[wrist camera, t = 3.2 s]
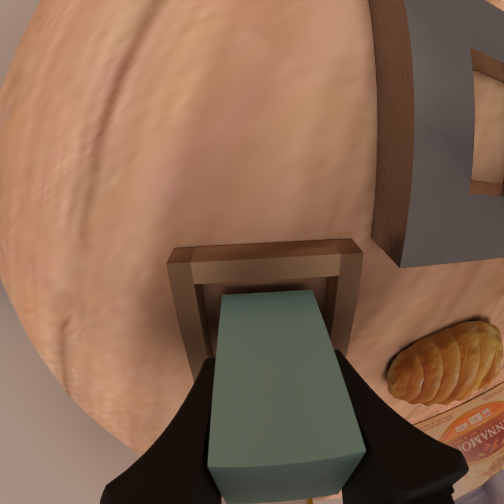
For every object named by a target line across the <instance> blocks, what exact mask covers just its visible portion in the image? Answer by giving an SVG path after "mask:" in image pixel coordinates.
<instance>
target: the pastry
mask: <svg viewBox="0 0 504 504" xmlns="http://www.w3.org/2000/svg"><path fill="white" fill-rule="evenodd" d="M502 357H503V344H502V338H501V333H500V331H499V329H498V328H497V327H496V326H494V325H492V324H489V323H486V322H483V321H480V320H478V321H472V322H471V321H465V322H463V323H460V324H456V325H454V326H453V327H450V328H446V329H444V330H442V331H440V332H437V333H435V334H432V335H430V336H427V337H425V338H423V339H420V340H418V341H416V342H415V343H414V344H413V345H412V346H410V347H409V348H407V349H405V350H403V351H401V352H400V353H399V354H398V355H397V357H396V358H395V359H394V360H393V362H392V365H391V367H390V369H389V371H388V374H387V379H388V391H389V393H390V394H391V395H393V397H394V398H397V399H401V400H404V401H407V402H408V403H410V404H417V403H422V404H424V405H426V406H430V405H432V404H434V403H436V404H443V405H449V404H450V403H451V402H452V401H455V400H458V401H461V400H464V399H465V398H467V397H468V396H469V395H470V394H471V393H472V392H473V391H474V390H481V389H483V388H485V387H486V386H487V385H489V384H490V383H491V382H492V381H493V380H494V378H495V377H496V376H497V374H498V372H499V369H500V362H501V359H502Z"/></svg>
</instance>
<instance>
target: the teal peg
mask: <svg viewBox="0 0 504 504" xmlns="http://www.w3.org/2000/svg"><path fill="white" fill-rule="evenodd" d="M365 452H366V449H365V446H364V442H363V439H362V436H361V432H360V429H359V426H358V423H357V419H356V416H355V413H354V410H353V407H352V403H351V400H350V397H349V394H348V391H347V388H346V385H345V382H344V379H343V376H342V373H341V370H340V367H339V364H338V361H337V358H336V355H335V352H334V349H333V346H332V343H331V340H330V338H329V335H328V332H327V329H326V326H325V323H324V321H323V318H322V315H321V312H320V310H319V307H318V304H317V301H316V299H315V296H314V293H313V291H312V289H310V290H296V291H281V292H265V293H247V294H226V295H222V300H221V310H220V320H219V330H218V341H217V351H216V362H215V374H214V385H213V397H212V410H211V423H210V437H209V451H208V469H209V471H210V473H211V475H212V477H213V479H214V481H215V483H216V485H217V487H218V489H219V491H220V493H221V495H222V497H223V498H224V500H225V502H226V504H252V503H272V502H284V501H294V500H302V499H310V498H317V497H323V496H329V495H334V494H338V493H339V492H340V490H341V489H342V487H343V486H344V485H345V483H346V482H347V480H348V479H349V477H350V476H351V474H352V473H353V471H354V470H355V468H356V467H357V465H358V464H359V462H360V460H361V459H362V457H363V455H364V454H365Z"/></svg>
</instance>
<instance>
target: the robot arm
mask: <svg viewBox="0 0 504 504" xmlns="http://www.w3.org/2000/svg"><path fill="white" fill-rule="evenodd" d="M334 352H335V355H336V358H337V361H338V364H339V367H340V370H341V373H342V376H343V379H344V382H345V385H346V388H347V391H348V394H349V397H350V400H351V403H352V407H353V410H354V413H355V416H356V419H357V423H358V426H359V429H360V432H361V436H362V439H363V442H364V446H365V449H366V452H365V454H364V455H363V457H362V459H361V460H360V462H359V464H358V465H357V467H356V468H355V470H354V471H353V473H352V474H351V476H350V477H349V479H348V480H347V482H346V483H345V485H344V486H343V487H342V497H343V504H504V469H503V470H501V471H500V472H498V473H497V474H495V475H494V476H492V477H491V478H490V479H488V480H487V481H486V482H484V484H482V485H481V486H479V487H477V488H476V489H474V490H472V491H470V492H468V493H467V494H465V495H463V496H461V497H459V498H457V499H455V500H453V497H452V494H453V493H454V488H453V484H455V483H456V482H457V481H458V480H460V479H461V478H462V477H463V476H464V475H466V474H467V472H468V471H469V467H468V464H467V462H466V459H465V457H464V455H463V454H462V452H461V451H460V450H458V449H455V448H453V447H451V446H449V445H446V444H444V443H442V442H440V441H438V440H436V439H434V438H432V437H431V436H429V435H427V434H426V433H424V432H423V431H421V430H419V429H418V428H416V427H415V426H413V425H412V424H410V423H409V422H408V421H406V420H405V419H404V418H402V417H401V416H400V415H399V414H398V413H396V412H395V411H394V410H393V409H392V408H390V407H389V406H388V405H387V404H386V403H385V402H384V401H383V400H382V399H381V398H380V397H379V396H378V395H377V394H376V393H375V392H374V391H373V390H372V389H371V388H370V387H369V385H368V384H367V383H366V382H365V381H364V380H363V379H362V378H361V376H360V375H359V374H358V373H357V372H356V370H355V369H354V368H353V367H352V365H351V364H350V363H349V362H348V360H347V359H346V358H345V356H344V355H343V354H342V352H341V351H340V350H339V349H337V350H334ZM215 362H216V358H206V359H205V360H204V361H203V364H202V367H201V369H200V372H199V374H198V376H197V378H196V380H195V382H194V384H193V386H192V388H191V390H190V392H189V394H188V395H187V397H186V399H185V401H184V403H183V404H182V406H181V407H180V409H179V410H178V412H177V414H176V415H175V417H174V418H173V420H172V421H171V422H170V424H169V425H168V427H167V428H166V429H165V430H164V432H163V433H162V434H161V436H160V437H159V438H158V439H157V440H156V441H155V442H154V444H153V445H152V446H151V447H150V448H149V449H148V450H147V451H146V452H145V453H144V454H143V455H142V456H141V457H140V458H139V459H138V460H137V461H136V462H135V463H134V464H133V465H131V466H130V467H129V468H128V469H127V470H126V471H125V472H123V473H122V474H121V475H119V476H118V477H117V478H115V479H114V480H113V481H111V482H110V483H108V484H107V485H106V487H105V489H104V491H103V494H102V497H101V500H100V504H222V495H221V493H220V491H219V489H218V487H217V485H216V483H215V481H214V479H213V477H212V475H211V473H210V471H209V469H208V451H209V437H210V423H211V410H212V397H213V385H214V374H215Z"/></svg>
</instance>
